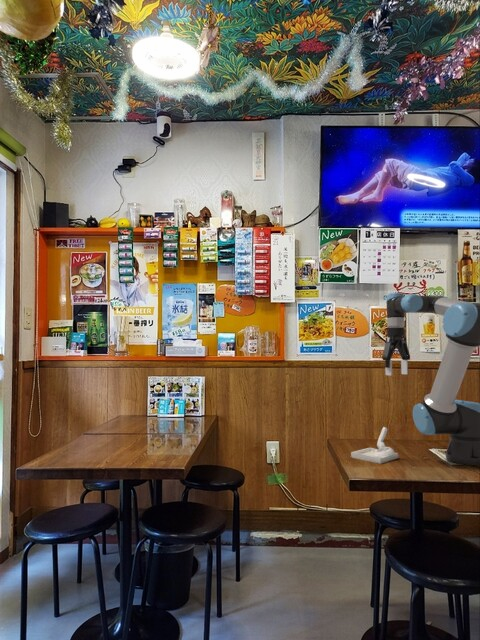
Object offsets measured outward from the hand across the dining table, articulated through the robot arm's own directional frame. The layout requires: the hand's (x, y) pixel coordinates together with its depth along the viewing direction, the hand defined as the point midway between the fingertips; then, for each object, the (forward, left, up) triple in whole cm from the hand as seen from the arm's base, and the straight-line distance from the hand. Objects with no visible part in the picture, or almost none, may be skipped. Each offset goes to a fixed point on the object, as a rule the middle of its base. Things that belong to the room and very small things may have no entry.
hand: (396, 374), depth 197 cm
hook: (-7, +23, -30) cm, 39 cm away
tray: (-4, +26, -32) cm, 41 cm away
